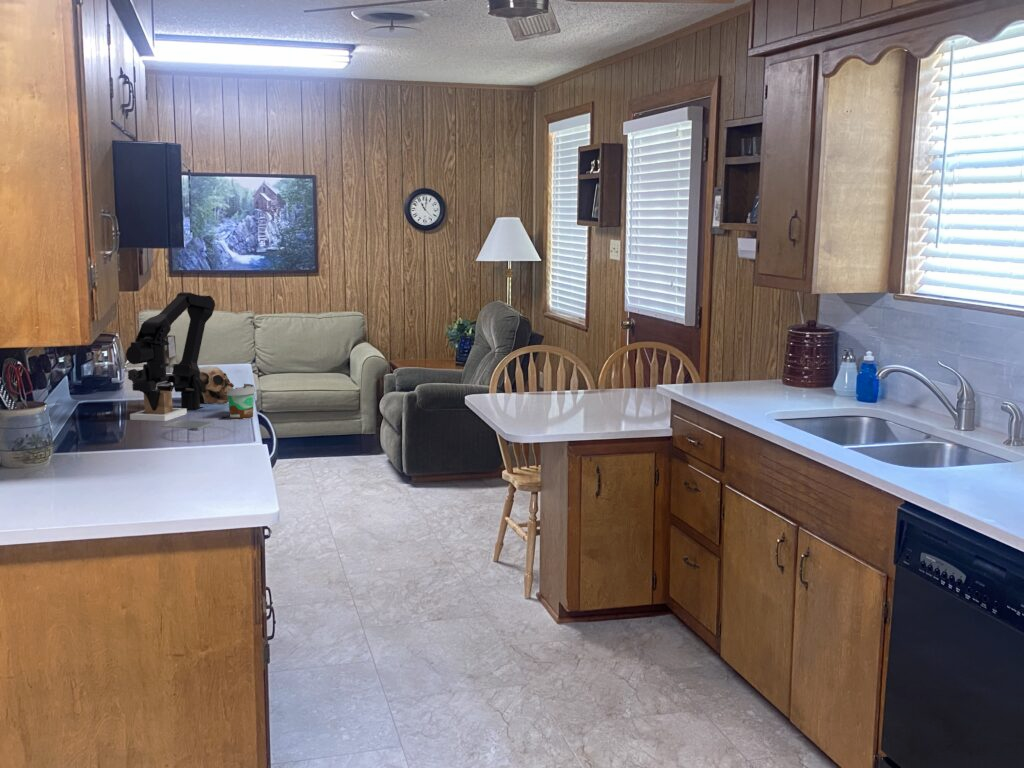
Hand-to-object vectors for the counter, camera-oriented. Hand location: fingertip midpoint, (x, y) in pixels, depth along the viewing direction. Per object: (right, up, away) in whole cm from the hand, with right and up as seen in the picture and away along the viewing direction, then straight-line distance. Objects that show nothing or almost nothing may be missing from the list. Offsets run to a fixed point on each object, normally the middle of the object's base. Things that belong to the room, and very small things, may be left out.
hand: (158, 409), depth 314 cm
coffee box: (-34, +12, +100) cm, 107 cm away
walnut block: (0, -2, 0) cm, 2 cm away
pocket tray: (0, -3, 0) cm, 3 cm away
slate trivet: (+14, -5, -13) cm, 19 cm away
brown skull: (+7, +2, +33) cm, 34 cm away
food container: (+27, -3, +3) cm, 27 cm away
